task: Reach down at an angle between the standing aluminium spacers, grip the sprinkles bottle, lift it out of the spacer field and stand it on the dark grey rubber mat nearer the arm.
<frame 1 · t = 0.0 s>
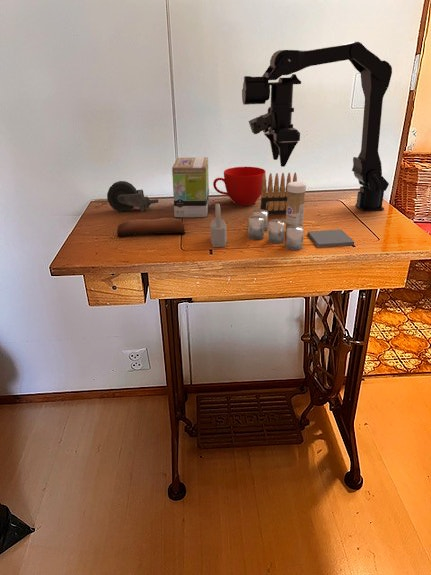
hand: (279, 163, 126), 15 cm above the table, tool pointing down, fingers open, 9 cm apart
padlock: (218, 243, 113), on the table
ammunition clip: (278, 214, 133), on the table
sprinkles bottle: (293, 235, 117), on the table
caster wheel: (134, 211, 139), on the table
mat: (330, 239, 113), on the table
sunglasses case: (152, 233, 122), on the table
tea box: (192, 210, 138), on the table
spacer field: (272, 238, 114), on the table
ceramic cup: (238, 204, 142), on the table
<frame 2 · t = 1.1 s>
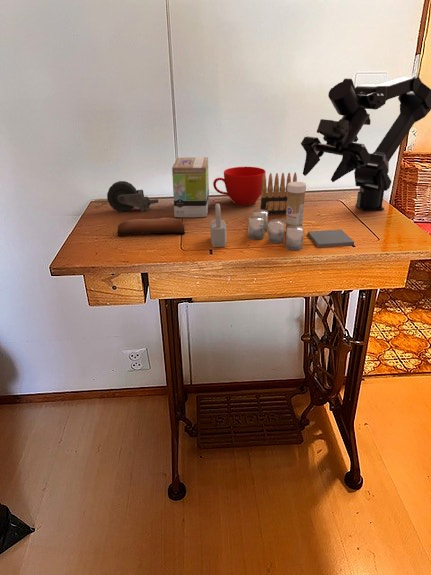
hand: (317, 177, 115), 13 cm above the table, tool tilted 45°, fingers open, 9 cm apart
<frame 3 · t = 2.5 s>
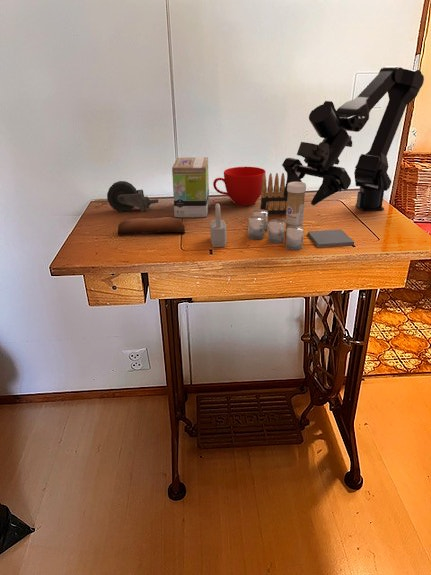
hand: (298, 200, 113), 9 cm above the table, tool tilted 45°, fingers open, 9 cm apart
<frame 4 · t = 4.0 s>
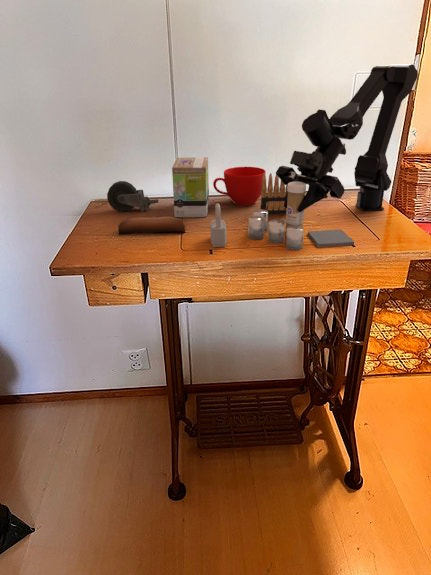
hand: (291, 209, 113), 7 cm above the table, tool tilted 45°, fingers closed on sprinkles bottle, 4 cm apart
sprinkles bottle: (293, 235, 117), on the table, touching gripper
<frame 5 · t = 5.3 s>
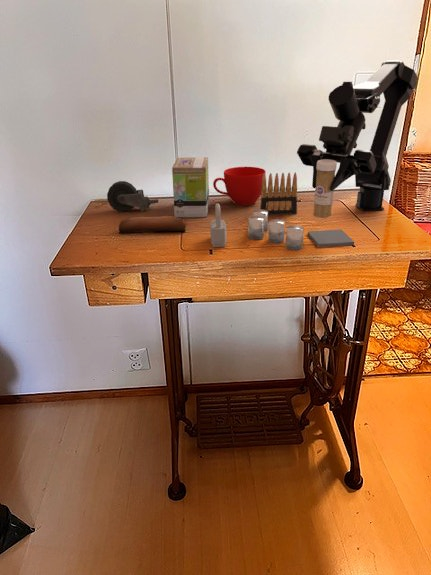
hand: (322, 188, 107), 13 cm above the table, tool tilted 45°, fingers closed on sprinkles bottle, 4 cm apart
sprinkles bottle: (322, 216, 111), point 6 cm above the table, touching gripper
when the fingers open (8 cm above the table, at t = 6.7 s): sprinkles bottle stays where it is, resting on mat.
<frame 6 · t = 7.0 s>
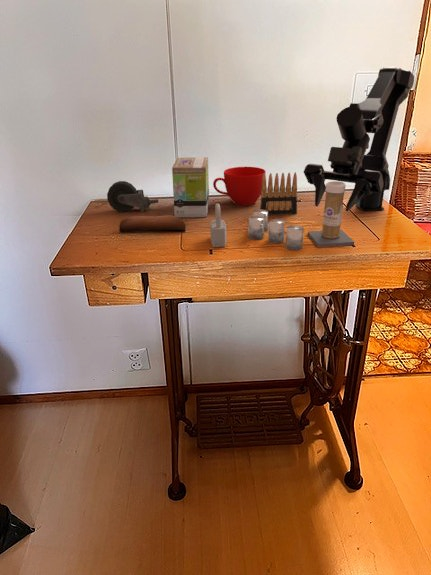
hand: (331, 208, 108), 9 cm above the table, tool tilted 45°, fingers open, 7 cm apart
sprinkles bottle: (330, 236, 113), point 1 cm above the table, touching mat
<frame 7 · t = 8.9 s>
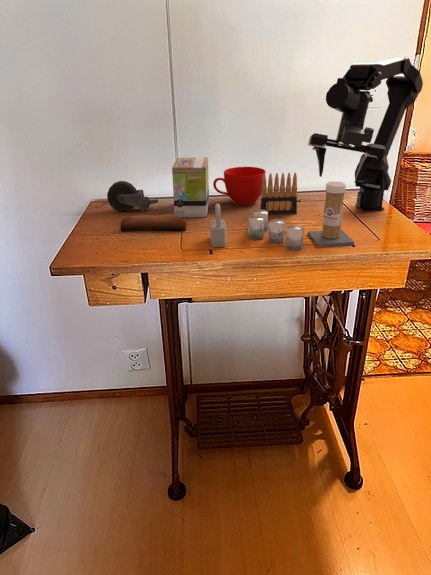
hand: (337, 180, 116), 12 cm above the table, tool tilted 15°, fingers open, 9 cm apart
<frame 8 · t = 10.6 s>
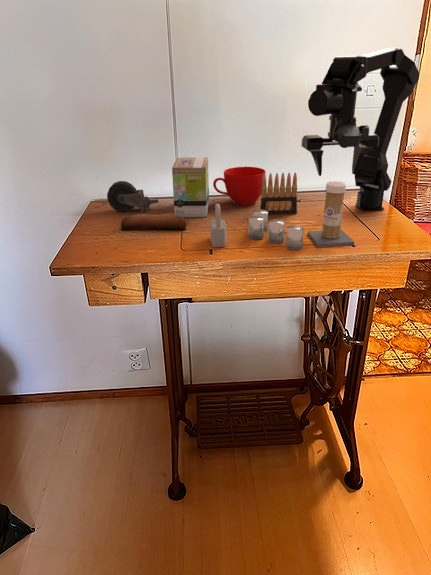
hand: (336, 174, 119), 13 cm above the table, tool pointing down, fingers open, 9 cm apart
at the end: sprinkles bottle inside the target area on the mat (0.2 cm from its centre), point 0.6 cm above the mat's base; sprinkles bottle tilted 0°; the gripper is holding nothing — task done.
